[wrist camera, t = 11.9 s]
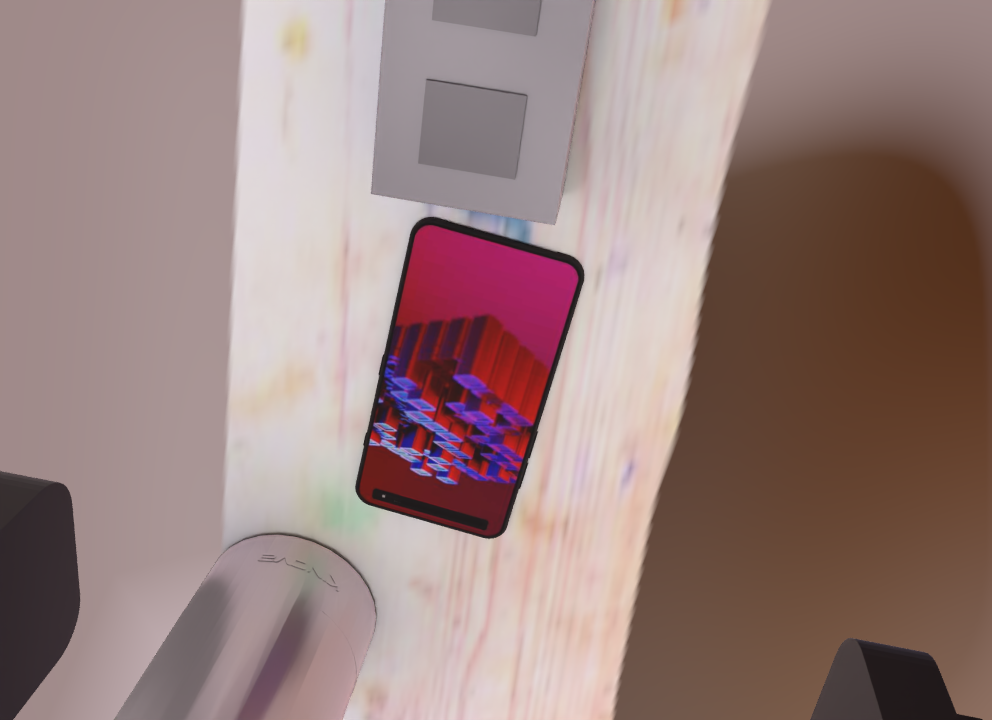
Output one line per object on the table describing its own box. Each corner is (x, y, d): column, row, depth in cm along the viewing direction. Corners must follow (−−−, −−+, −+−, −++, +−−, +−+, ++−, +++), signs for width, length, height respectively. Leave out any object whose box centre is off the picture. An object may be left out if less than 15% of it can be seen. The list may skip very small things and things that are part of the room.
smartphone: (590, 264, 39) (502, 544, 46) (591, 257, 40) (505, 533, 47) (412, 214, 39) (350, 501, 46) (416, 208, 40) (355, 491, 47)
